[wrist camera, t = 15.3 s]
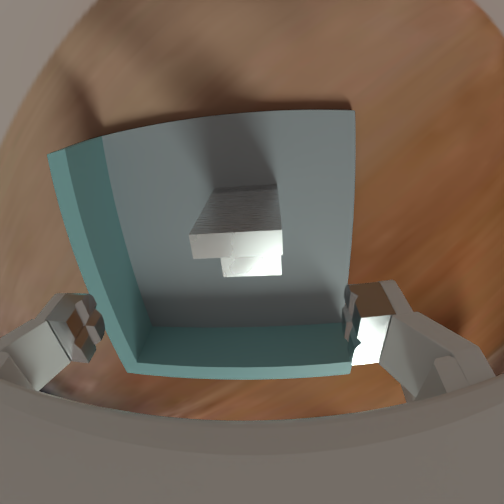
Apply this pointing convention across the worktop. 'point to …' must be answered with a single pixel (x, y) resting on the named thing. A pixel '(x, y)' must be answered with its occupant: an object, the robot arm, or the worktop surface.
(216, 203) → the bracket
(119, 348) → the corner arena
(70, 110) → the worktop surface
